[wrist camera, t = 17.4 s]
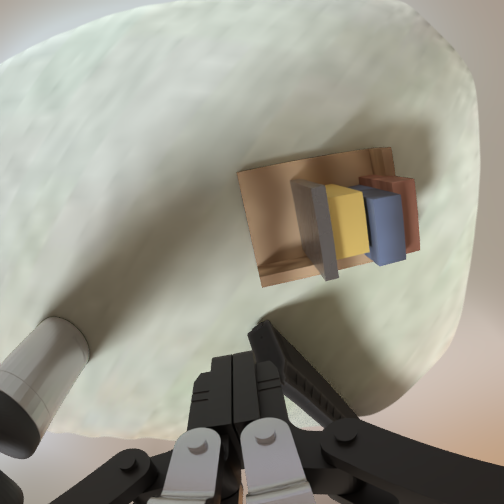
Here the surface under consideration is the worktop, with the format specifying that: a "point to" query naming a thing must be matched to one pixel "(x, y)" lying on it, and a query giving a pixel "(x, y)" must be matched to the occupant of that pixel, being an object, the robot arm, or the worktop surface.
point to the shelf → (328, 172)
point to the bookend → (315, 226)
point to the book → (347, 221)
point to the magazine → (298, 376)
